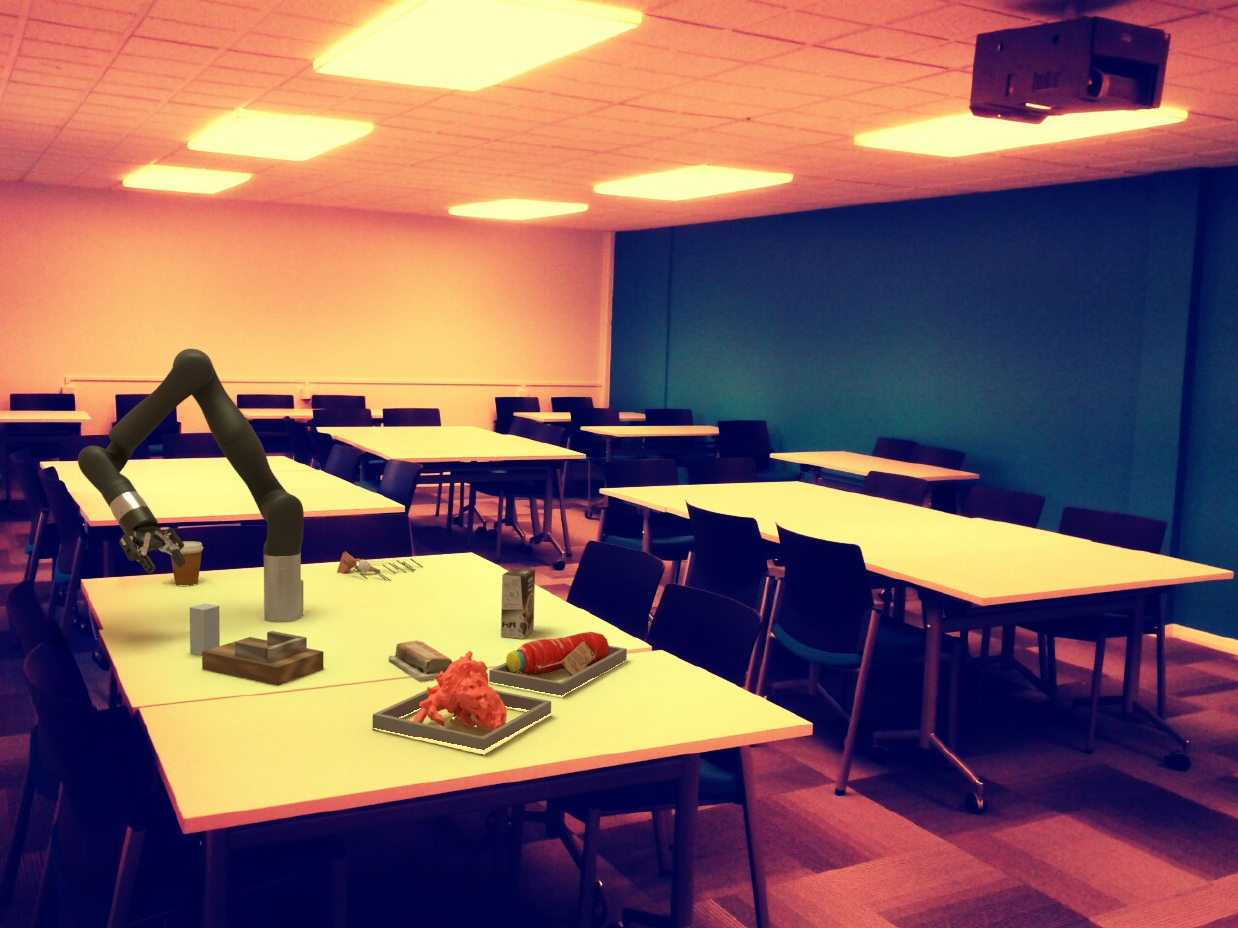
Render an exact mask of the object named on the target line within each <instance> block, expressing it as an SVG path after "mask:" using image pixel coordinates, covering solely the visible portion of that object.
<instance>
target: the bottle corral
mask: <svg viewBox="0 0 1238 928" xmlns="http://www.w3.org/2000/svg"><path fill="white" fill-rule="evenodd" d="M559 638H562V637H559ZM627 651H628V649H627V648H624V647H619V646H613V645H609V653H608V656H607V657H605V658H604V659H602V660H600V661H598V662H596V663H594V664H593V665H591V666H587V667H584V668H583V669H582V670H581V671H580V672H578V673H576V674H574V675H572V676H570V675H569V677H567V678H564V679H563V680H561V681H557V680H553V679H552V680H550V679H546V678H540V677H536V676H532V675H531V676H530V675H526V674H520V673H519V672H518V671H517V672H518V673H519V674H518V673H516V672H511V671H510V670H509V669H508V667H507V663H506V662H503V663H502V664H500V665H498V666H495V667H494V668H491V669H489V674H488V683H489V682H493V683H498V684H504V685H508V686H514V687H519V688H524V689H530V690H534V691H539V692H545V693H550V694H556V695H561V696H562V695H564V694H565V693H567V692H569V691H571V690H572V689H574V688H576V687H578V686H580V685H582V684H583V683H585V682H587V681H588V680H590V679H592V678H595V677H597V676H599V675H600V674H602V673H604V672H606V671H608V670H609V669H611V668H613V667H615V666H616V665H618V664H620V663H622V662H623V661H625V660H626V661H627V659H628V658H627ZM622 664H623V663H622ZM620 665H621V664H620ZM615 668H616V667H615ZM613 669H614V668H613ZM608 672H609V671H608ZM515 673H516V674H515ZM606 673H607V672H606ZM599 677H600V676H599Z"/></svg>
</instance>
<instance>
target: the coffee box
mask: <svg viewBox="0 0 1238 928" xmlns="http://www.w3.org/2000/svg"><path fill="white" fill-rule="evenodd" d="M501 576H502V579H501V581H502V583H501V618H500V620H501V621H500V637H501V638H507V639H517V638H519V639H520V640H525V639H526V638H527V637H528V636H529V635H530V634H531V633H532V632H533V631H535V590H536V589H535V586H536V569H532V568H531V569H530V568H528V569H527V568H511V569H509V570H508V571H506V572H505V573H504V574H503V573H502V575H501ZM527 635H528V636H527ZM526 636H527V637H526Z"/></svg>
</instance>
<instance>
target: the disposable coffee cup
mask: <svg viewBox="0 0 1238 928" xmlns="http://www.w3.org/2000/svg"><path fill="white" fill-rule="evenodd" d="M182 542H183V543H184V547H183V548H182V549H181V550H180V552H181V554H182V555H183V557H184V558H185V564H184V566H183V567H180V568H179V567H178V566H177V565H176V563H175V561H174V560H173V558H172V557H171V556H172V555H170V559H171V566H172V572H173V578H174V580H173V581H174V585H175V584H176V585H175V586H177V585H185V586H184V587H187V586H186V585H192V586H195V585H194V584H196V585H198V584H199V577H200V569H201V561H202V551H203V549H204V546H203V544H202V542H200V541H193V540H192V541H191V540H190V541H187V540H186V541H182ZM176 544H177V542H176ZM177 545H178V544H177ZM169 548H170V549H171V550H172V549H173V548H171V547H169ZM197 583H198V584H197Z"/></svg>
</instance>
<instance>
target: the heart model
mask: <svg viewBox="0 0 1238 928" xmlns="http://www.w3.org/2000/svg"><path fill="white" fill-rule="evenodd" d="M473 654H474V653H473V652H472V651H471V650H469V651H467V652H465V655H464V656H462V655H461V656H460V657H459V659H456V660H454V661H452V662H453V663H451V664H450V665H449V667H448V668H447V670H446V672H445V673H444V674H443V671H441V672H440V675H441V676H443V677H442V678H439V675H438V673H437V674H436V682H437V687H436V688H432V687H430V686H428V687H427V688H426V690H427V691H429V692H428V693H427V695H430V696H429V697H428V699H426V700H424V701H421V702H420V704H419V706H420V707H421V709H420V710H419V711H417V712H416V715H415V717H414V719H412V721H415V722H419V723H424V721H425V719H426V718H427V717H428V718H429V719H430V721H431V722H432V721H433V722H435V723H436V724H438V725H440V726H442V727H445V726H446V725H445V720H444V719H443V716H442V714H440V713H439V712H441V711H444V710H446V711H447V713H448V714H451V715H452V714H453V715H452V716H451V718H452V717H455V716H456V717H457V716H458V717H457V720H458V722H460V723H461V724H464V725H465V726H466V725H467V726H469V727H472V726H475V725H477V726H478V724H479V725H481V726H483V727H484V728H485V729H487V730H488V731H489V732H490V731H493V730H495V729H497V728H499V727H500V726H502V725H504V724H506V723H507V716H508V715H507V712H508V711H507V710H508V709H506V707H505V705H504V703H503V701H502V700H501V698H500V696H499V694H497V693H496V691H495V690H496V689H494V687H493V686H490V684H489V674H488V667H487V665H486V663H485V662H484V661H481V660H480V661H477V660H475V659H473V658H472V657H473ZM456 717H455V718H456ZM472 717H473V718H474V719H475V720H473V719H472Z"/></svg>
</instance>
